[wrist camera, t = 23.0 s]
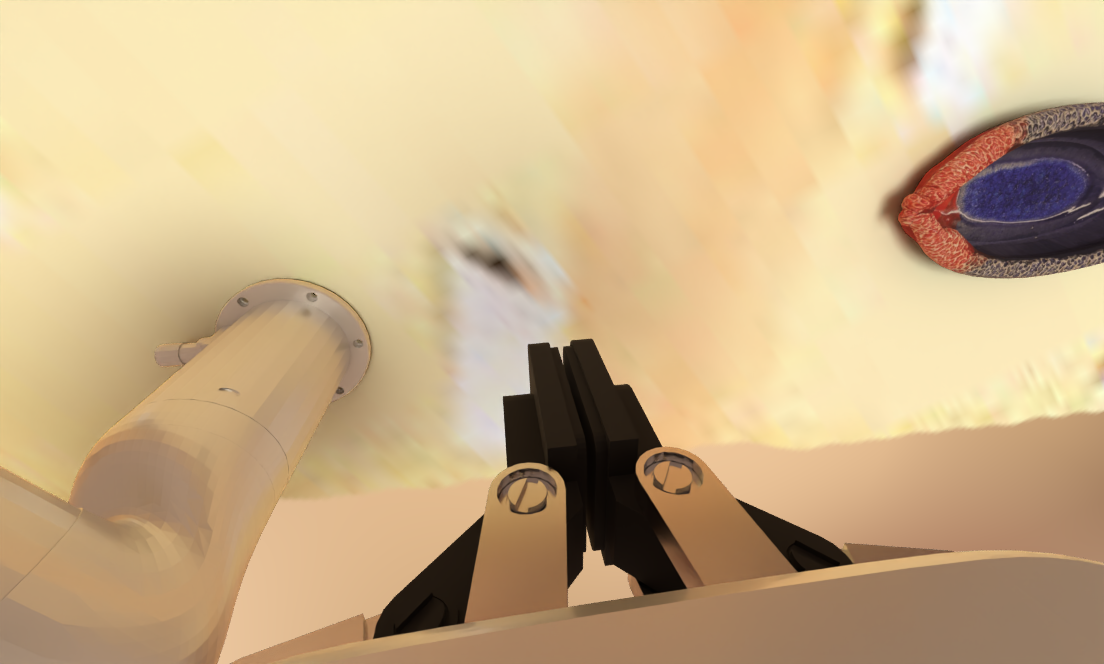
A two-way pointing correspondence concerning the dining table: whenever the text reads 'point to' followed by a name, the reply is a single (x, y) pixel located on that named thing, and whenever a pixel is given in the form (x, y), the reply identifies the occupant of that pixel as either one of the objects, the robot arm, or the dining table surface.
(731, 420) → the dining table surface
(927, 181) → the dish
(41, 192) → the dining table surface
